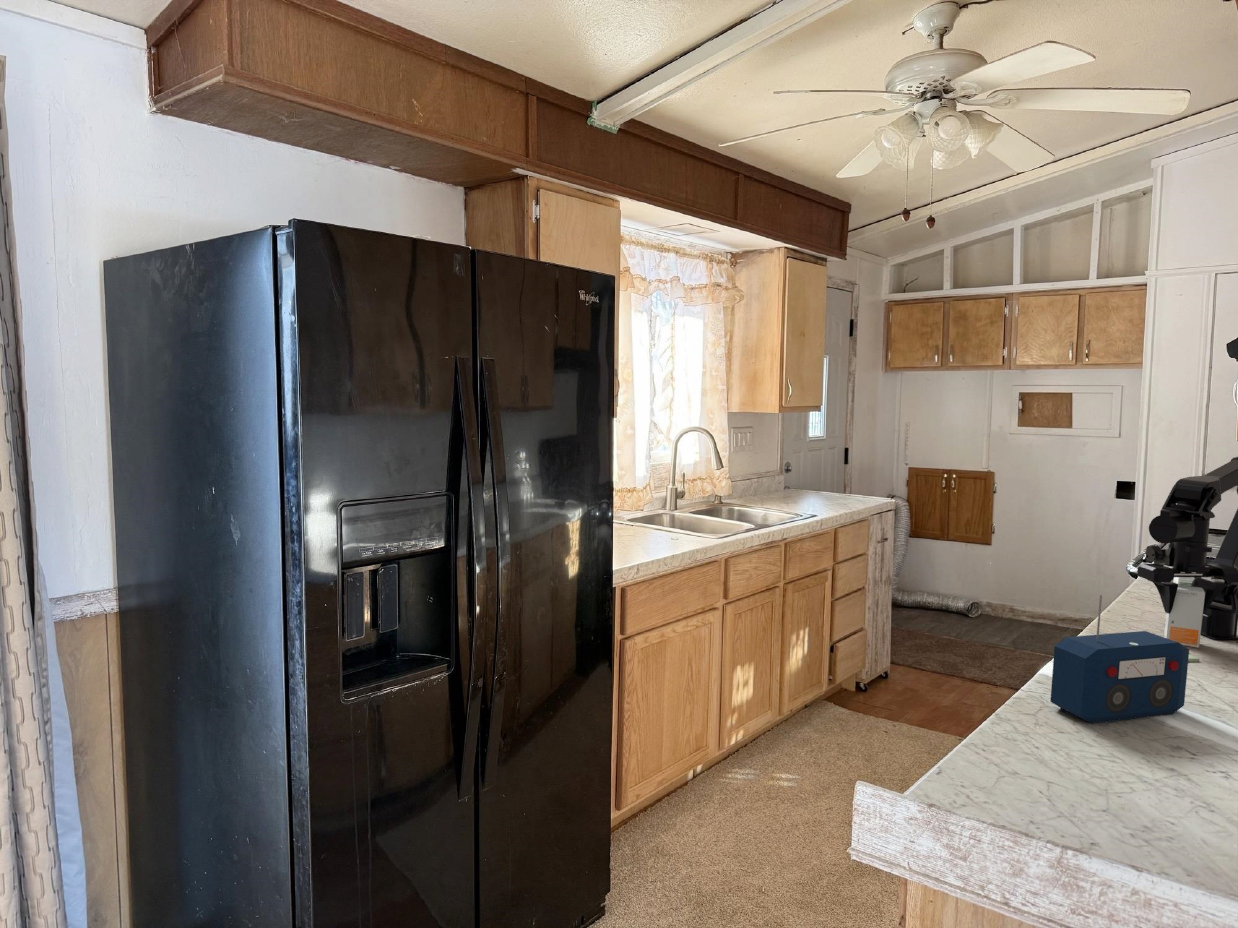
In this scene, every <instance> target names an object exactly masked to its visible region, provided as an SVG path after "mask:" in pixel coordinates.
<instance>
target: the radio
mask: <svg viewBox="0 0 1238 928" xmlns="http://www.w3.org/2000/svg"><path fill="white" fill-rule="evenodd" d="M1102 598H1103V594H1099V604H1098V616H1097V625H1096V626H1097V627H1096V628H1097V630H1096V634H1090V635H1089V634H1088V635H1078V636H1077V635H1075V636H1066V637H1065V638H1064V639H1062V640H1060V642H1058V643H1056V644H1055V645H1054V648H1053V649H1054V650H1053V661H1052V674H1051V675H1052V676H1051V677H1052V678H1051V690H1050V701H1049V702H1050V703H1052V704H1053V705H1056V706H1057V707H1058V708H1060V709H1062V710H1065V711H1066V712H1068V713H1070V714H1072V715H1074V716H1076V717H1078V718H1080V719H1082V720H1084V721H1086V722H1088V723H1090V724H1098V723H1099V724H1101V723H1107V722H1109V723H1110V722H1115V721H1116V722H1117V721H1125V720H1126V721H1127V720H1134V719H1143V718H1144V719H1145V718H1153V717H1154V718H1155V717H1162V716H1163V717H1164V716H1172V715H1174V714H1175V713H1176V712H1178V711H1179V710H1180V709H1182V708H1183V707H1184V706H1185V697H1186V689H1187V677H1188V666H1189V662H1188V658H1189V654H1190V649H1189V648H1188V647H1187V646H1184V645H1182V644H1180V643H1179V642H1176V641H1173V640H1170V639H1167V638H1164V636H1161V635H1158V634H1156V633H1152V632H1149V631H1146V630H1139V631H1130V632H1129V631H1127V632H1116V633H1113V632H1112V633H1102V634H1100V625H1101V623H1100V622H1101V614H1102V613H1101V611H1102V600H1103V599H1102Z"/></svg>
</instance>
